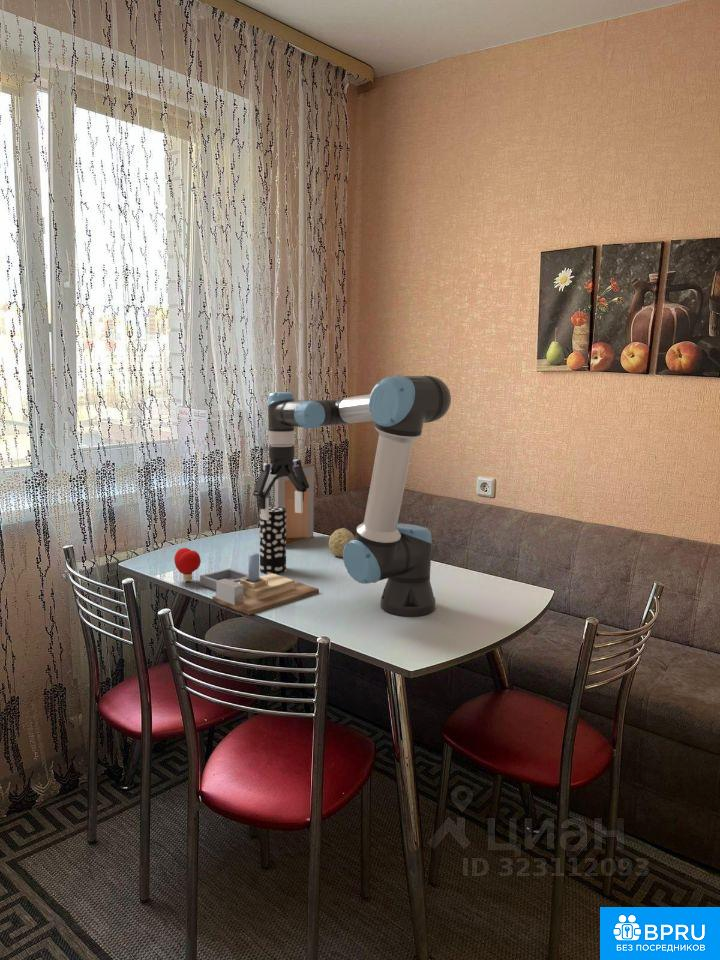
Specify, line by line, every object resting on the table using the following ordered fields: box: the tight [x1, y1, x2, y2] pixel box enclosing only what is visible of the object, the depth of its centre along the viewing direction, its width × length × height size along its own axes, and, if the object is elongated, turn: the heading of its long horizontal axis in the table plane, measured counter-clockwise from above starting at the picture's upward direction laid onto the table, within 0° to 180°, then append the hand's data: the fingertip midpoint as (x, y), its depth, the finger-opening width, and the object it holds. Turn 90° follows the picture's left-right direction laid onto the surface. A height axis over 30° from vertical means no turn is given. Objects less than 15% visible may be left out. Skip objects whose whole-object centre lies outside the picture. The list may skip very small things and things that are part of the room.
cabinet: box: [274, 463, 315, 547], centre depth 268 cm, size 21×10×28 cm, turn 147°
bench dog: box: [216, 579, 243, 605], centre depth 200 cm, size 8×3×5 cm, turn 48°
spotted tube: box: [259, 506, 287, 575], centre depth 231 cm, size 8×8×20 cm
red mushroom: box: [174, 547, 201, 583], centre depth 219 cm, size 9×7×10 cm
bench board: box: [211, 580, 320, 616], centre depth 208 cm, size 16×26×1 cm, turn 138°
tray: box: [199, 567, 248, 593], centre depth 217 cm, size 11×11×3 cm
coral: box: [328, 527, 355, 558], centre depth 251 cm, size 10×10×10 cm
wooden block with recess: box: [237, 573, 296, 600], centre depth 209 cm, size 10×14×4 cm
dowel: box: [247, 552, 260, 583], centre depth 206 cm, size 3×3×9 cm
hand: (282, 516), depth 217 cm, fingers open, 13 cm apart
